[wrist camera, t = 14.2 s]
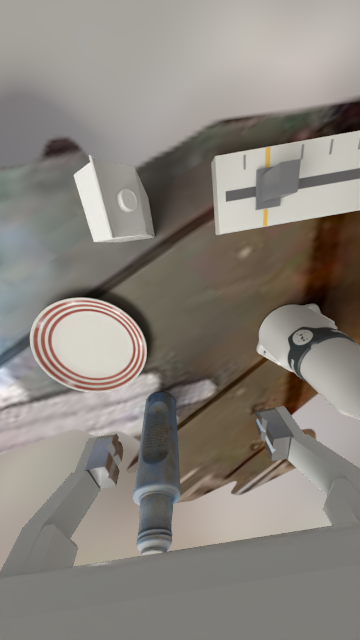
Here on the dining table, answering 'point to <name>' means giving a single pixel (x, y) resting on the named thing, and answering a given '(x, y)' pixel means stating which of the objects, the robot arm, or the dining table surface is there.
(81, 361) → the dinner plate
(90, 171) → the milk carton
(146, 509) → the bottle
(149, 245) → the dining table surface
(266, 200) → the fader tab
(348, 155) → the console board
